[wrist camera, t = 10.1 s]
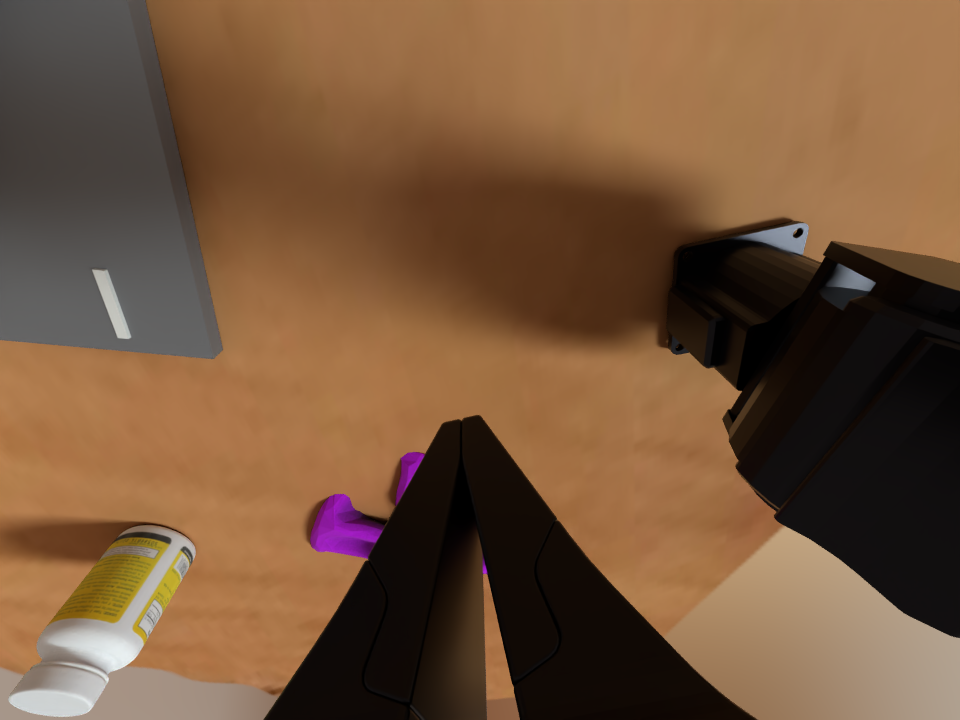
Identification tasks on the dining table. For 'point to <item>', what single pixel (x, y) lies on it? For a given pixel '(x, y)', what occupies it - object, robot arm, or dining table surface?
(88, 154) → the plate
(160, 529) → the supplement bottle
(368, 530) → the cloth
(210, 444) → the dining table surface
